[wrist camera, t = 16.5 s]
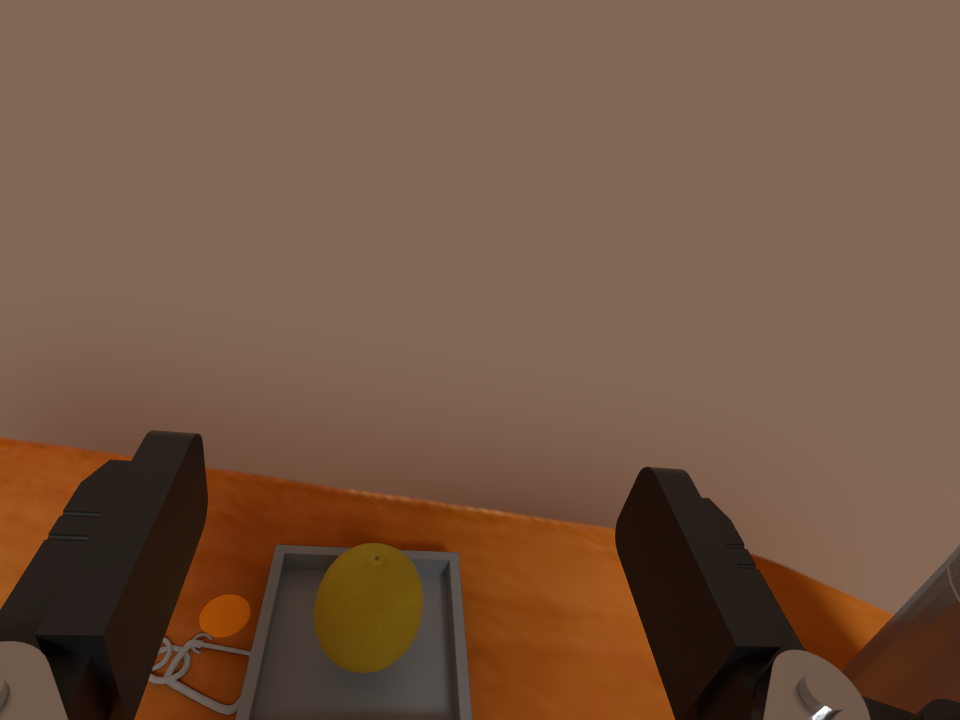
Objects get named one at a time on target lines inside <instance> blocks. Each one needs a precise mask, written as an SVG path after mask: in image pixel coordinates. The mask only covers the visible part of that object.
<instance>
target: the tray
mask: <svg viewBox="0 0 960 720" xmlns="http://www.w3.org/2000/svg"><path fill="white" fill-rule="evenodd" d="M349 549H350V548H343V547H320V546H298V545H276V547H275V551H274V555H273V560H272V564H271V568H270V572H269V577H268V581H267V585H266V590H265V594H264V598H263V602H262V607H261V611H260V615H259V620H258V624H257V628H256V633H255V637H254V641H253V645H252V650H251V654H250V658H249V663H248V667H247V671H246V675H245V680H244V684H243V688H242V693H241V697H240V701H239V706H238V710H237V714H236V718H235V720H472V710H471V698H470V686H469V674H468V662H467V650H466V638H465V626H464V614H463V602H462V590H461V578H460V565H459V553H456V552H434V551H411V550H400V551H401V552H402V553H403V554H405V555H406V556H407V557H408V558H409V559H410V561H411V562H412V563H413V565H414V566H415V568H416V570H417V573H418V575H419V578H420V581H421V586H422V594H423V611H422V618H421V623H420V627H419V630H418V632H417V634H416V636H415V638H414V640H413V643H412V644H411V646H410V647H409V648H408V650H407V651H406V652H405V653H404V654H403V656H402V657H401V658H400V659H399V660H397V661H396V662H394V663H393V664H392V665H390V666H389V667H387V668H385V669H382V670H380V671H377V672H371V673H354V672H350V671H348V670H345V669H342V668H340V667H339V666H338V665H336V664H335V663H333V662H332V661H331V660H330V659H329V658H328V656H327V655H326V654H325V652H324V651H323V650H322V648H321V646H320V643H319V641H318V638H317V636H316V632H315V624H314V606H315V601H316V596H317V591H318V588H319V586H320V584H321V581H322V579H323V578H324V576H325V574H326V572H327V570H328V568H329V567H330V566H331V565H332V563H333V562H334V561H335V560H336V559H337V558H338V557H339V556H340V555H341V554H343V553H344V552H346V551H347V550H349Z"/></svg>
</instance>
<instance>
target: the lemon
mask: <svg viewBox="0 0 960 720" xmlns="http://www.w3.org/2000/svg"><path fill="white" fill-rule="evenodd" d="M422 611H423V594H422V586H421V581H420V578H419V575H418V573H417V570H416V568H415V566H414V565H413V563H412V562H411V561H410V559H409V558H408V557H407V556H406V555H405V554H403V553H402V552H401V551H400V550H398V549H396V548H394V547H392V546H390V545H386V544H381V543H366V544H361V545H358V546H355V547H353V548H350V549H349V550H347V551H346V552H344V553H343V554H341V555H340V556H339V557H338V558H337V559H336V560H335V561H334V562H333V563H332V565H331V566H330V567H329V568H328V570H327V572H326V574H325V576H324V578H323V579H322V581H321V584H320V586H319V588H318V591H317V596H316V601H315V606H314V624H315V632H316V636H317V638H318V641H319V643H320V646H321V648H322V650H323V651H324V652H325V654H326V655H327V656H328V658H329V659H330V660H331V661H332V662H333V663H335V664H336V665H338V666H339V667H340V668H342V669H345V670H348V671H350V672H354V673H371V672H377V671H380V670H382V669H385V668H387V667H389V666H390V665H392V664H393V663H394V662H396V661H397V660H399V659H400V658H401V657H402V656H403V654H404V653H405V652H406V651H407V650H408V648H409V647H410V646H411V644H412V643H413V640H414V638H415V636H416V634H417V632H418V630H419V627H420V623H421V618H422Z"/></svg>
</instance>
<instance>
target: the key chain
mask: <svg viewBox="0 0 960 720" xmlns="http://www.w3.org/2000/svg"><path fill="white" fill-rule="evenodd" d="M250 611H251V608H250V606H249V603H248V601H246V600H245V599H244V598H243V597H241V596H238V595H234V594H229V595H222V596H219V597H217V598H214V599H213V600H211V601H210V602H209V603H208V604H206V605H205V607H204V608H203V610H202V611H201V613H200V618H199V624H200V627H201V629H202V630H203V631H204V632H205V633H200V634H197V635H196V636H195V637H194V638H193V640H189V641H188V642H187V643H186V644H185V645H184V646H183V647H181V646H176V645H172V643H171V642H170V640H169V639H167V638H165V637H164V638H163V641H162V643H164V644H165V645H166V646H164V647H160V649H159V652H158V655H159V654H161V653H164V652H167V653H166V655H165V657H164V659H163V660H162V661H161V662H160V663H158V664H157V665H154V666H153V669H152V671H151V672H153V671H155V670H157V669H159V668H161V667H162V666H163V665H164V664H165V663H166V662H167V661H168V660H169V658H170V656H171V654H172V651H175V652H178V653H177V655H176V656H175V657H174V659H173V660H172V662H171V663H170V665H169V667H168V668H167V670H166V672H165V674H164V676H163V677H155V676H154V675H152V674H150V677H149V680H148V681H150V682H152V683H154V684H167V685H169V686H170V687H172V688H173V689H175V690H177V691H179V692H180V693H182V694H184V695H186V696H187V697H189V698H191V699H193V700H195V701H197V702H199V703H200V704H202V705H204V706H206V707H208V708H210V709H212V710H214V711H216V712H219V713H223V714H226V715H231V714H233V713H235V712H236V711H237V710H238V706H239V701H240V698H239V699H238V700H237V701H236V703H234V704H233V705H230V706H228V705H225V704H221V703H218V702H216V701H214V700H212V699H210V698H208V697H206V696H204V695H202V694H200V693H198V692H196V691H194V690H193V689H191V688H189V687H187V686H185V685H184V684H182V683H180V682H179V681H177V679H179V678H180V677H182V676H183V675H184V674H185V673H186V671H187V670H188V669H189V667H190V664H191V659H192V658H191V656H190V654H189V652H188V650H189V649H190V648H192V650H193V651H194V652H195V653H196V654H199V653H201V651H198V650H196V648H201V647H205V648H210V649H216V650H221V651H227V652H232V653H238V654H243V655H248V657H249V658H250V654H251V651H246V650H241V649H235V648H230V647H225V646H220V645H215V644H210V643H205V642H204V641H202V640H196V639H197V638H198V637H200V636H206V637H207V638H208V639H209V640H212V638H211V636H213V637H217V638H219V637H228V636H230V635H233V634H235V633H237V632H239V631H240V630H241V629H242V628H243V627H244V626H245V625H246V623H247V622H248V620H249V618H250ZM195 647H196V648H195ZM158 655H157V656H158ZM183 657H184V666H183V667H182V668H181V670H180V671H179V672H177V673H175V674H174V675H173V672H174V670H175V668H176V667H177V665H178V664H179V662H180V660H181V659H182V658H183ZM240 697H241V696H240Z"/></svg>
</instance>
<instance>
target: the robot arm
mask: <svg viewBox="0 0 960 720" xmlns="http://www.w3.org/2000/svg"><path fill="white" fill-rule="evenodd" d="M207 506H208V493H207V482H206V472H205V462H204V452H203V442H202V437H201V435H200V434H196V433H182V432H167V431H153V430H152V431H150V432H149V433H148V434H147V435H146V436H145V438H144V439H143V441H142V443H141V445H140V447H139V449H138V450H137V452H136V454H135V456H134V457H133V459H132V461H123V460H109V461H108V462H106V463H105V464H104V465H103V466H101V467H100V468H99V469H97V470H96V471H95V472H94V473H92V474H91V475H90V476H89V477H87V478H86V479H85V480H83V481H82V482H81V483H80V485H79V486H78V488H77V489H76V491H75V493H74V494H73V496H72V497H71V499H70V501H69V502H68V504H67V505H66V507H65V508H64V510H63V515H62V516H59V518H58V520H57V521H56V523H55V524H54V526H53V527H52V529H51V531H50V532H49V536H48V539H47V540H44V542H43V543H42V545H41V546H40V548H39V550H38V551H37V553H36V554H35V556H34V558H33V559H32V561H31V562H30V564H29V565H28V567H27V569H26V570H25V572H24V573H23V575H22V577H21V578H20V580H19V581H18V583H17V584H16V586H15V588H14V589H13V591H12V592H11V594H10V596H9V597H8V599H7V600H6V602H5V603H4V605H3V607H2V608H1V610H0V720H134V718H135V715H136V712H137V710H138V707H139V704H140V701H141V699H142V696H143V693H144V691H145V688H146V685H147V682H148V680H149V677H150V674H151V671H152V669H153V666H154V663H155V660H156V658H157V655H158V652H159V649H160V647H161V644H162V641H163V638H164V636H165V633H166V630H167V628H168V625H169V622H170V619H171V617H172V614H173V611H174V608H175V606H176V603H177V600H178V597H179V595H180V592H181V589H182V586H183V584H184V581H185V578H186V576H187V573H188V570H189V567H190V565H191V562H192V559H193V556H194V554H195V551H196V548H197V545H198V543H199V540H200V537H201V534H202V531H203V528H204V524H205V520H206V514H207ZM615 541H616V548H617V552H618V555H619V558H620V561H621V564H622V567H623V570H624V572H625V575H626V578H627V581H628V584H629V587H630V590H631V593H632V596H633V598H634V601H635V604H636V607H637V610H638V613H639V616H640V619H641V621H642V624H643V627H644V630H645V633H646V636H647V639H648V642H649V645H650V647H651V650H652V653H653V656H654V659H655V662H656V665H657V668H658V671H659V673H660V676H661V679H662V682H663V685H664V688H665V691H666V694H667V697H668V699H669V702H670V705H671V708H672V711H673V714H674V717H675V720H960V545H959V546H958V547H957V549H956V550H955V551H954V552H953V553H952V554H951V555H950V556H949V557H948V559H947V560H946V561H945V562H944V563H943V564H942V565H941V566H940V567H939V568H938V569H937V570H936V571H935V572H934V573H933V574H932V576H931V577H930V578H929V579H928V580H927V581H926V582H925V583H924V584H923V585H922V586H921V587H920V588H919V589H918V590H917V591H916V592H915V594H914V595H913V596H912V597H911V598H910V599H909V600H908V601H907V602H906V603H905V604H904V605H903V606H902V607H901V608H900V609H899V611H898V612H897V613H896V614H895V615H894V616H893V617H892V618H891V619H890V620H889V621H888V622H887V623H886V624H885V625H884V626H883V627H882V628H881V630H880V631H879V632H878V633H877V634H876V635H875V636H874V637H873V638H872V639H871V640H870V641H869V642H868V643H867V644H866V645H865V646H864V648H863V649H862V650H861V651H860V652H859V653H858V654H857V655H856V656H855V657H854V658H853V659H852V660H851V661H850V662H849V663H848V664H847V666H846V667H845V668H844V669H842V670H841V671H840V670H839V669H837V668H836V667H835V666H834V665H832V664H831V663H829V662H828V661H826V660H825V659H823V658H821V657H819V656H817V655H815V654H812V653H810V652H806V651H805V650H804V648H803V646H802V645H801V643H800V641H799V640H798V638H797V636H796V634H795V633H794V631H793V629H792V627H791V626H790V624H789V622H788V620H787V618H786V617H785V615H784V613H783V611H782V610H781V608H780V606H779V604H778V603H777V601H776V599H775V597H774V596H773V594H772V592H771V590H770V589H769V587H768V585H767V583H766V581H765V580H764V578H763V576H762V574H761V573H760V571H759V570H757V569H756V568H755V565H756V564H755V562H754V560H753V559H752V557H751V555H750V553H749V552H748V550H747V549H744V543H743V541H742V539H741V537H740V536H739V534H738V532H737V531H736V529H735V527H734V525H733V523H732V522H731V520H730V519H729V518H728V517H727V516H726V515H725V514H724V513H723V512H722V511H721V510H720V509H719V508H718V507H717V506H716V505H715V504H714V503H713V502H712V501H711V500H710V499H709V498H701V496H700V494H699V493H698V491H697V489H696V487H695V485H694V483H693V481H692V480H691V478H690V476H689V475H688V473H687V472H685V471H684V470H681V469H667V468H653V467H652V468H651V467H645V468H643V469H642V470H641V471H640V472H639V474H638V476H637V478H636V480H635V483H634V485H633V487H632V489H631V491H630V494H629V496H628V498H627V500H626V502H625V505H624V507H623V509H622V511H621V513H620V515H619V518H618V520H617V524H616V531H615Z"/></svg>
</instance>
